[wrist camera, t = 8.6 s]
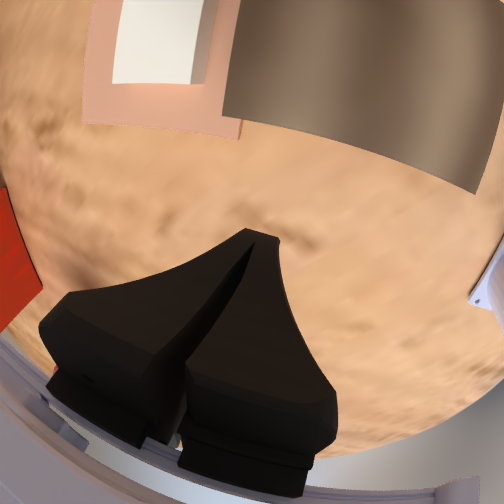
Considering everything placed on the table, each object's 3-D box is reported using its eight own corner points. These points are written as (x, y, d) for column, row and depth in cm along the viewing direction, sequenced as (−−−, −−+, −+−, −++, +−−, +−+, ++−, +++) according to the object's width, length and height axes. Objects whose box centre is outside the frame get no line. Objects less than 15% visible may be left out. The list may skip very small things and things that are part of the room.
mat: (277, -67, 8) (276, -70, 8) (239, 139, 17) (237, 140, 17) (107, -42, 10) (104, -43, 10) (84, 122, 19) (81, 123, 19)
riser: (482, 18, 8) (512, 9, 4) (450, 172, 15) (474, 194, 11) (273, -48, 9) (258, -75, 6) (243, 109, 16) (221, 116, 13)
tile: (130, -31, 9) (147, -25, 11) (112, 83, 15) (129, 82, 16) (214, -45, 9) (225, -34, 10) (190, 84, 14) (204, 84, 15)
